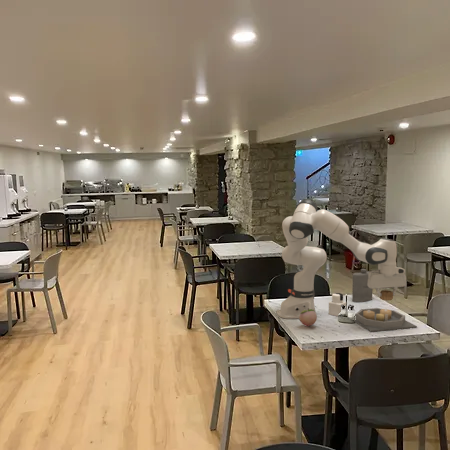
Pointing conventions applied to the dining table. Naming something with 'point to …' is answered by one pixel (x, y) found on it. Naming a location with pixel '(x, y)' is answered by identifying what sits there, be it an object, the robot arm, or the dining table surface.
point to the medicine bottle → (336, 304)
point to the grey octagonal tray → (382, 320)
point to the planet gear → (386, 295)
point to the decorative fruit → (308, 317)
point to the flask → (361, 287)
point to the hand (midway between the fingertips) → (386, 295)
